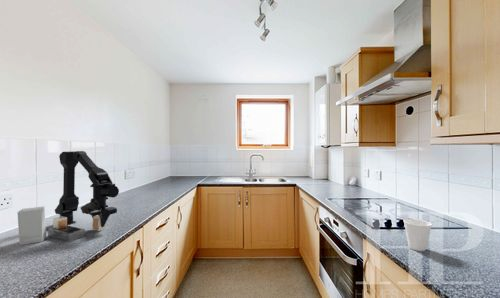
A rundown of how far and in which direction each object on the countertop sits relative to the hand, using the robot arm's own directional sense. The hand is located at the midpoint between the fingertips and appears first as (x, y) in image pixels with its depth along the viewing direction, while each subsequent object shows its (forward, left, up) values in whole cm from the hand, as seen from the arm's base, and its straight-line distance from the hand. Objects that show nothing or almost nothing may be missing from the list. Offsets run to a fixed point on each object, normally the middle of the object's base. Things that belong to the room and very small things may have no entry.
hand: (99, 226), depth 127 cm
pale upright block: (0, 0, -2) cm, 2 cm away
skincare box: (-12, -23, -2) cm, 26 cm away
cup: (+144, +37, -2) cm, 149 cm away
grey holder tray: (-5, -13, -2) cm, 14 cm away
